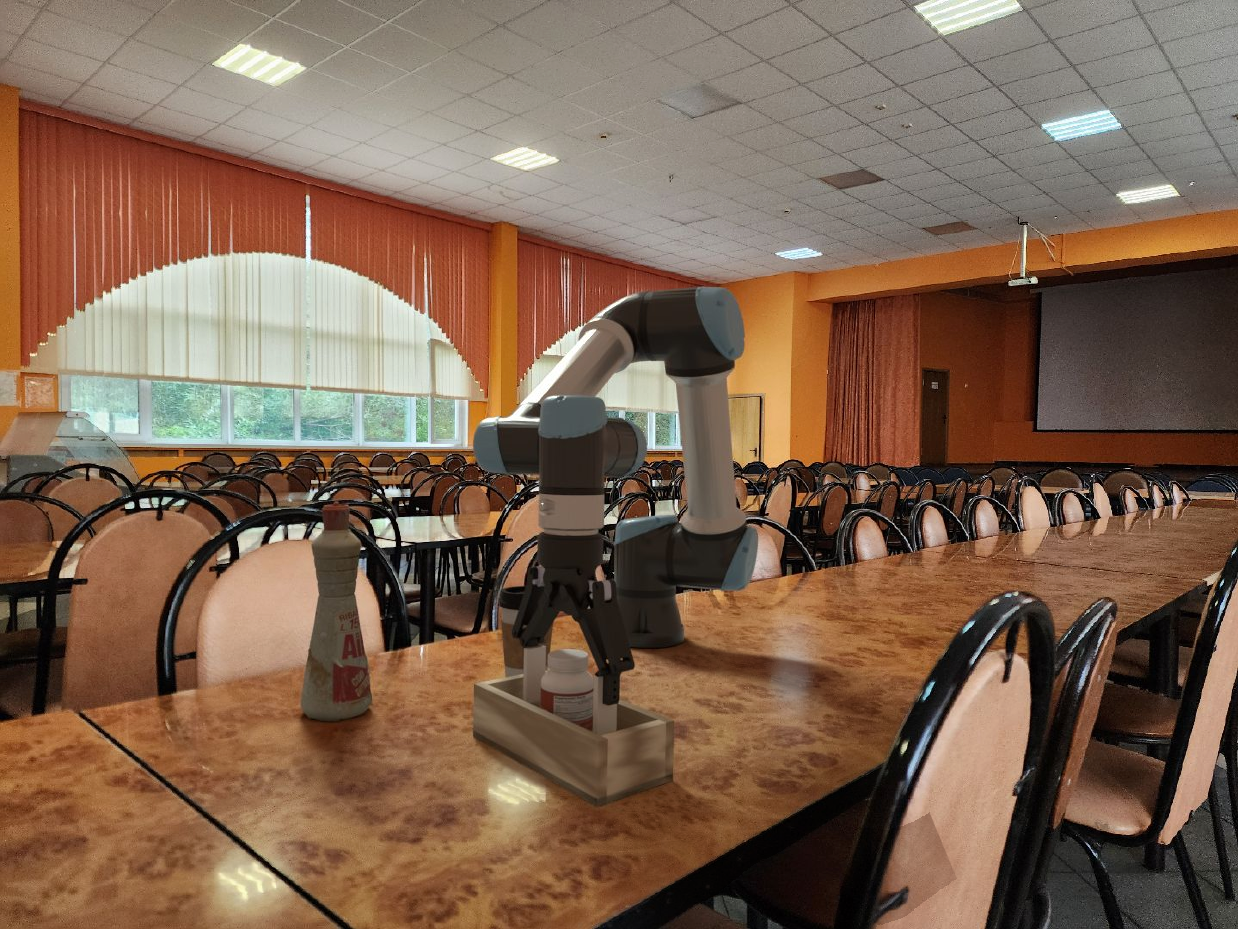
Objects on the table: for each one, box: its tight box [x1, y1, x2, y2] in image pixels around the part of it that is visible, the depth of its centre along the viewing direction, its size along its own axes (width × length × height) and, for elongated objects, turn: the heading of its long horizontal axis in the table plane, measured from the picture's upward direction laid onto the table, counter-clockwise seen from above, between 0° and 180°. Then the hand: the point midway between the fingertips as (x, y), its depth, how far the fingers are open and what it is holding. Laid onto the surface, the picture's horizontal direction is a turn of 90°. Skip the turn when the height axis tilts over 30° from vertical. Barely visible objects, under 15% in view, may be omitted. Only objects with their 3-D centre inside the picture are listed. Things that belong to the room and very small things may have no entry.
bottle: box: [300, 500, 373, 723], centre depth 106 cm, size 9×9×28 cm
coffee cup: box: [498, 585, 554, 678], centre depth 118 cm, size 8×8×15 cm
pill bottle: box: [540, 648, 594, 732], centre depth 92 cm, size 6×6×11 cm
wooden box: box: [472, 670, 675, 808], centre depth 92 cm, size 10×24×6 cm, turn 40°
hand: (567, 716), depth 92 cm, fingers open, 13 cm apart
